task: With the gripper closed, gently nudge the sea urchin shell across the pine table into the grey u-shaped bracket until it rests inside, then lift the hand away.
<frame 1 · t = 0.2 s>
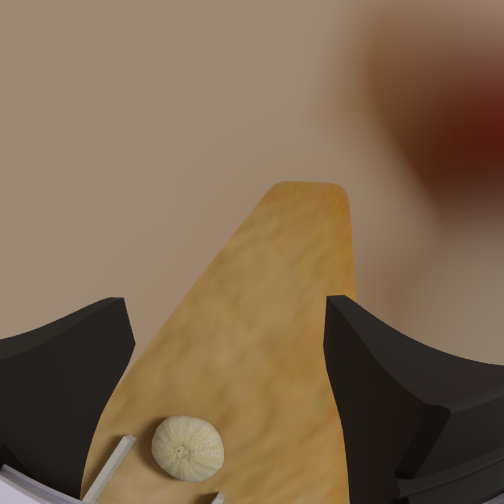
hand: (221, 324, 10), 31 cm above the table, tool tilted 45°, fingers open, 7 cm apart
grey u-shaped bracket: (150, 502, 29), on the table
sea urchin shell: (190, 446, 34), on the table
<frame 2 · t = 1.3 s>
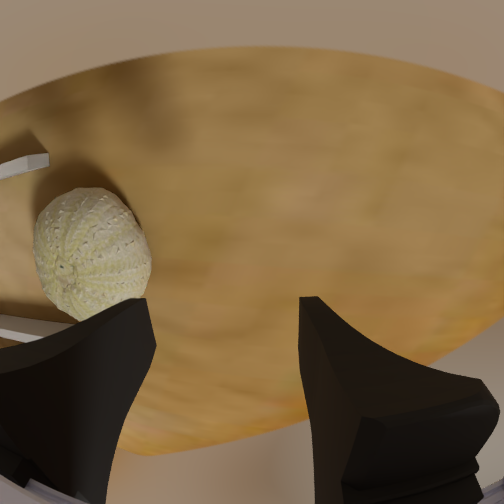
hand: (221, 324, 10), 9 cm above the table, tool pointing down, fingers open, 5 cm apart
grey u-shaped bracket: (6, 253, 21), on the table
sea urchin shell: (102, 247, 20), on the table
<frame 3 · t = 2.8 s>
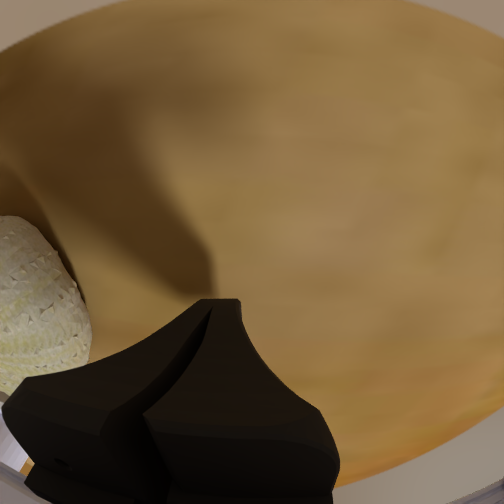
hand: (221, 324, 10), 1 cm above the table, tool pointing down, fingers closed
sea urchin shell: (34, 294, 13), on the table
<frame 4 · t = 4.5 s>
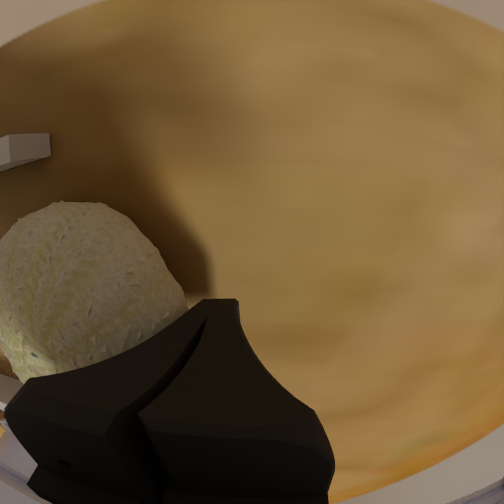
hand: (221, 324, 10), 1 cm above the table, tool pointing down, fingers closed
sea urchin shell: (103, 298, 12), on the table, touching gripper
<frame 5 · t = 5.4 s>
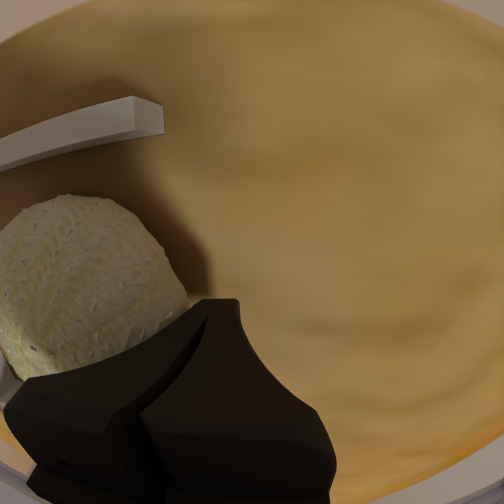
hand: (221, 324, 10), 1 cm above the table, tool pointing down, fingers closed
grey u-shaped bracket: (44, 300, 12), on the table
sea urchin shell: (103, 293, 12), on the table, touching gripper
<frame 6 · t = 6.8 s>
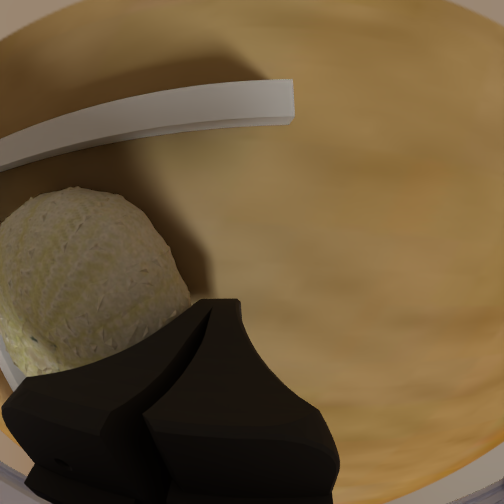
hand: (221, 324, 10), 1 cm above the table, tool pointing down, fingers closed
grey u-shaped bracket: (111, 304, 12), on the table
sea urchin shell: (104, 286, 12), on the table
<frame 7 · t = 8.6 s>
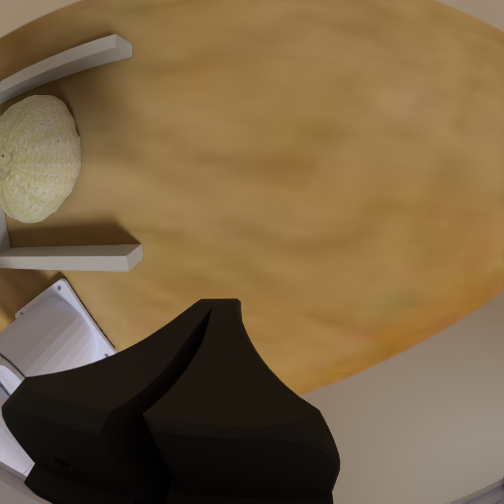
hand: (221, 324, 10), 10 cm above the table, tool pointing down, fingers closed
grey u-shaped bracket: (48, 163, 19), on the table
sea urchin shell: (47, 155, 19), on the table
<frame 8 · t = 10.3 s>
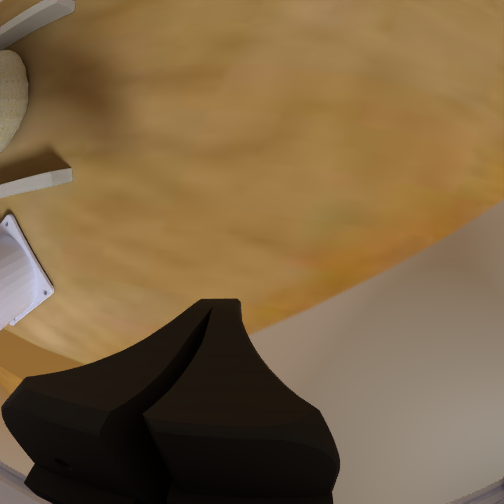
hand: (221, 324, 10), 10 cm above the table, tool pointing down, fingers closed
grey u-shaped bracket: (5, 109, 17), on the table
sea urchin shell: (5, 104, 17), on the table
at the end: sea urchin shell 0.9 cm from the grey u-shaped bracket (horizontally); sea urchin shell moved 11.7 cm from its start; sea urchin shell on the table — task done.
